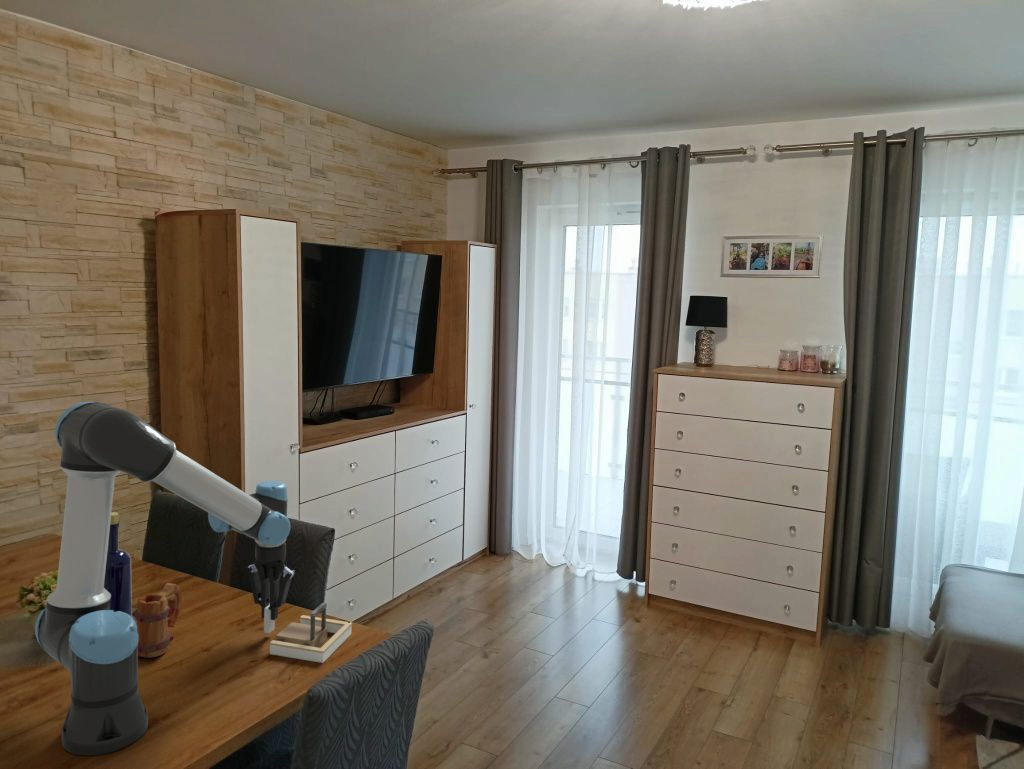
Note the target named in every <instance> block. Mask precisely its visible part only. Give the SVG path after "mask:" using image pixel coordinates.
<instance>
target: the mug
mask: <svg viewBox="0 0 1024 769" xmlns="http://www.w3.org/2000/svg"><path fill="white" fill-rule="evenodd" d="M181 605H182V592H181V590H180V587H179V586H178V585H177V583H172V582H171V583H170V582H167V583H166V584H165V585H164V586H163V588H162V590H161V591H160V592H159V593H158V592H157V593H155V594H154V593H148V594H145V596H141V597H139V599H138V601H137V608H136V609H135V610H134V611H132V617H134V620H135V621H136V625H137V633H138V657H142V658H155V657H160V656H162V655H163V654H165V653H166V652H167V651H168V650H169V645H170V644H171V642H172V641H174V636H173V634H172V633H171V631H170V630H169V628H173V627H175V625H176V622H177V620H178V617H179V615H180V612H181V607H182V606H181ZM168 627H169V628H168Z"/></svg>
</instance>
